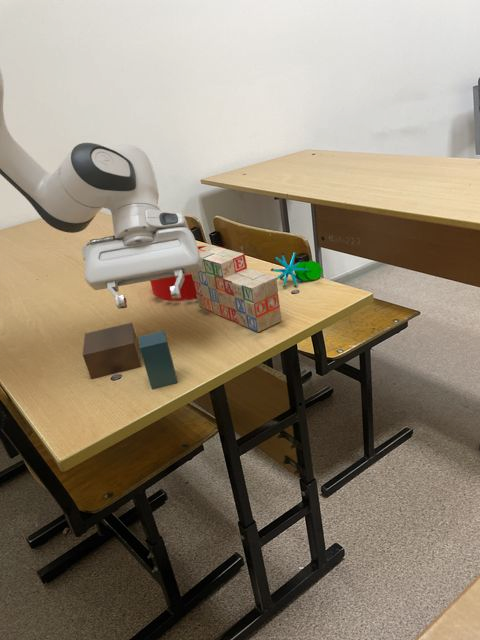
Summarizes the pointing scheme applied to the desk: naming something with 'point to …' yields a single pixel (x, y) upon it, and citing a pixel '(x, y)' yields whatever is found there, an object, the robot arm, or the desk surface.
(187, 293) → the toy clock
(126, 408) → the desk surface
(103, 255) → the robot arm
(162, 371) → the teal block
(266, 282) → the stack of blocks
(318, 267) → the stick construction toy
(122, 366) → the walnut block
